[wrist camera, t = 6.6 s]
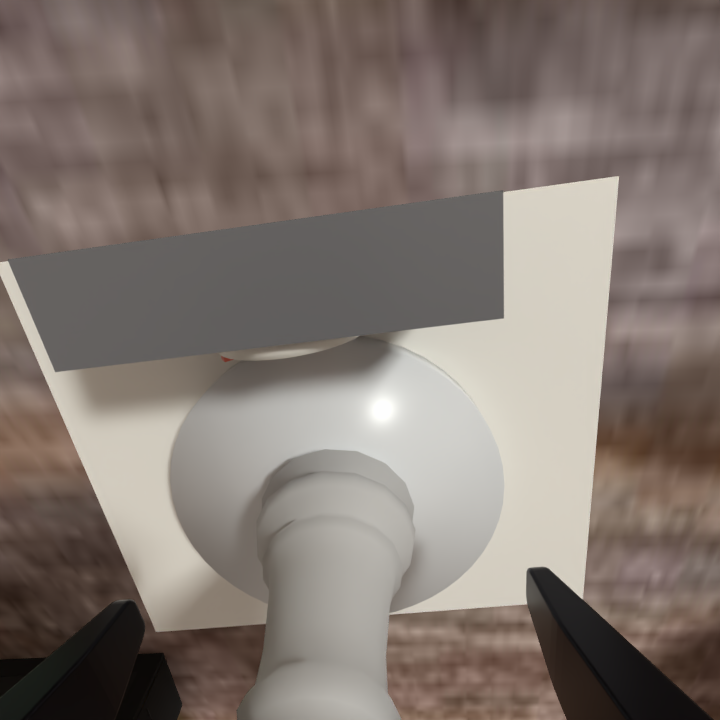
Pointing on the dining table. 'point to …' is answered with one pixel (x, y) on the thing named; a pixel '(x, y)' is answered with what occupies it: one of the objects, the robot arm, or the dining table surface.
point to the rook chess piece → (329, 587)
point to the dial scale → (338, 386)
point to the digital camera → (141, 699)
